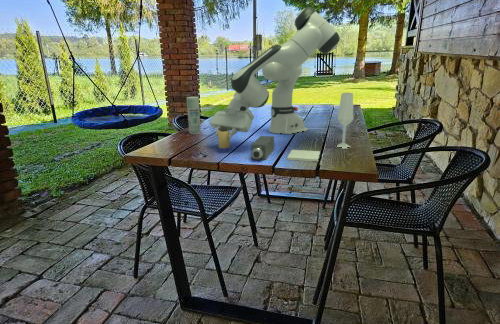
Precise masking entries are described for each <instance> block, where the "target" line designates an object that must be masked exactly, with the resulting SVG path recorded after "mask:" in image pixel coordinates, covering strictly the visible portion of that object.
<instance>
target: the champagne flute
mask: <svg viewBox="0 0 500 324" xmlns="http://www.w3.org/2000/svg"><path fill="white" fill-rule="evenodd" d="M353 120H354V93H353V92H341V94H340V100H339V107H338V113H337V121H338V122H339V123H340V124H341V125H342V137H341V138H342V140H341V142H340V143H338V144H336V145H337V147H342V148H341V149H348V148H347V147H350V148H351V145H349V144H347V143H346V132H347V126H348V125H350V124H351V123H352V122H353ZM337 147H336V148H337Z"/></svg>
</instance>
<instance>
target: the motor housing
mask: <svg viewBox="0 0 500 324" xmlns="http://www.w3.org/2000/svg"><path fill="white" fill-rule="evenodd" d="M250 147H251V148H250V149H251V151H250V153H251V154H250V157H251V159H252V160H257V161H258V160H263V161H264V160H265V161H266V160H267V159H268V158H269V157H270V156H271V154H272V153H273V152H274V150H275V136H271V135H270V136H269V135H260V136H259V137H258V138H257V139H256V140H254V142H252V143H251V144H250Z"/></svg>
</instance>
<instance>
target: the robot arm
mask: <svg viewBox="0 0 500 324" xmlns="http://www.w3.org/2000/svg"><path fill="white" fill-rule="evenodd" d="M294 26H295V29H296V31H297V32H296V33H295V34H294V35H293V36H292V37H290V39H289V40H288V41H286V42H285V43H283V44H278V43H277V44H274V45H272V46H270V47H269V48H268V49H266V50H265V51H264V52H262V53H261V54H259V55H258V56H257V57H256V58H254V59H253V60H252V61H250V62H249V63H247V65H245V66H243V67H242V68H240V69H238V70H237V71H236V72H235V73H234V74H233V75H232V76H231V81H230V82H231V85H230V86H231V89H232V90H233V91H234V95H233V96H232V97H233V98H232V99H231V100H230V101H229V103H228V105H227V107H226V109H224V110H223V109H220V110H218V111H217V112H215V114H213V116H212V117H211V119H210V121H209V125H210V126H211V127H212V128H213V129H216V132H215V136H216V137H217V138H218V130H220V129H221V128H227V130H229V132H230V133H228V135H227V137H228V138H229V139H231V140H232V139H233V136H235V135H236V134H238V132H241V133H247V132H249V131H250V129H251V127H252V124H253V120H254V119H255V115H254V114H253V112H252V110H250V108H254V109H255V108H262V107H264V106H265V105H266V104H267V102H268V100H269V98H270V92H269V90H268V89H267V88H266V87H265V85H264V84H262V83H261V82H260V80H259V79H258V78H256V74H257V73H258V72H260V71H261V72H262V73H261V74H262V76H263V78H264V79H266V80H268V81H272V82H278V83H277V85H276V87H275V88H274V89H273V91H272V92H271V106H270V107H271V108H270V116H271V119H270V126H269V130H268V132H270V133H273V134H280V133H282V134H285V135H292V133H294V134H298V133H297V132H299V133H303V132H302V131H304V132H308V131H309V129H308V127H305V122H304V119H303V118H301V117H300V116H299V114H297V113H295V111H296V112H297V111H298V110H299V108H298V107H297V106H293V92H294V88H295V85H296V83H297V80H298V79H299V77H300V76H301V75H302V73H303V72H302V71H303V66H302V65H303V64H304V63H305V62H307V60H308V59H309V58H310V57H311V56H312V55H313V54H314V53H315V52H316V51H317V50H318V52H319V53H321V54H323V55H327V54H329V53H331V52H333V51H334V50H335V49H336V48H337V46H338V45H339V42H341V41H340V40H341V37H340V35H339V33H338V32H337V31H336V30H335V29H334V27H333V26H332V25H331V24H330V23H329V21H328V20H327V19H325V18H324V17H323V16H322V15H321V14H319V12H317V10H316V9H315V8H314V7H312V6H307V7H305V8H303V9H302V10H301V11H299V12H298V14H297V16H296V17H295V20H294ZM307 130H308V131H307Z"/></svg>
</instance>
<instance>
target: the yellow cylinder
mask: <svg viewBox="0 0 500 324" xmlns="http://www.w3.org/2000/svg"><path fill="white" fill-rule="evenodd" d="M230 132H231V131H230V130H227V128H221V129H220V130H218V137H217V141H218V144H217V145H218V148H219V149H229V148H231V140H230V139H229V138H228V137H227V135H228V133H230Z"/></svg>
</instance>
